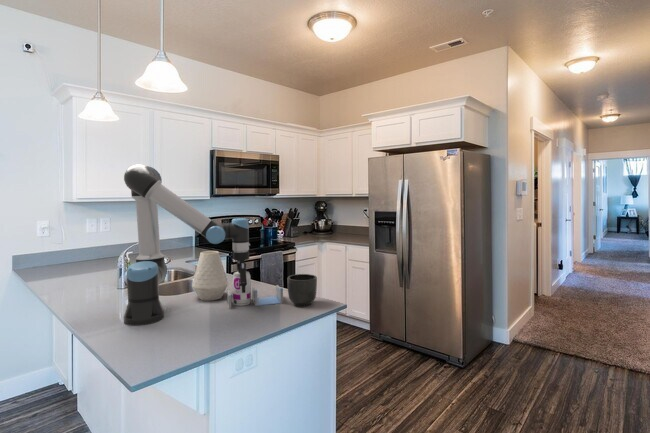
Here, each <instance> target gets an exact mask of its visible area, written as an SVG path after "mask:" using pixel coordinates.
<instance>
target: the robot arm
mask: <svg viewBox="0 0 650 433" xmlns="http://www.w3.org/2000/svg"><path fill="white" fill-rule="evenodd" d="M123 180H124V181H123V182H124V184H125V185H126V188H128V189H129V190H130V191H131V192H130V193H131V194H130V195H131V198H132V199H133V200H134V201H135V209H136V211H135V212H136V222H137V226H136V227H137V237H138V238H137V239H138V240H137V241H138V256H137V257H135V262H134V263H131V264H130V265H129V266H128V267H127V269H126V276H125V277H126V281H127V282H126V283H127V287H126V288H127V306H126V308H125V312H124V316H123V323H124V324H125V325H127V326H142V325H143V326H144V325H149V324H154V323H156V322H159V321H161V320H163V319H164V318H165V311H164V308H163V306H162V303H161V301H160V292H159V290H160V287H159V286H160V284H162V283H163V281H164V280H165V279H166V277H167V274H168V267H167V264H166V263H165V255H164V254H163V253H162V252H161V244H160V243H161V242H160V227H159V225H160V224H159V210H158V208H159V207H158V206H160V207H161V208H162V209H164V210H165V211H166V212H168V213H170V214H171V215H173V216H174V217H176V219H179V220H180V222H183V223H184V224H186V225H187V226H189V228H191V229H193V230H194V231H195V232H197V233H199V234H200V235H201V236H202V237H204V238H205V239H206V240H207V242H209V243H211V244H212V245H218V244H220V243H222V242H224V240H232V259H233V261H236V270H237V271H236V272H239V273H240V283H241V284H239V286H240V297H241V300H244V299H247V290H246V285H247V280H246V271H247V264H246V262H245V261H248V260H249V259H250V251H249V250H250V246H251V243H250V234H249V233H250V230H249V228H250V227H249V226H250V225H249V220H248V218H243V217H241V218H232V220H231V222H229V223H227V222H226V223H224V222H223V223H219V222H217V223H216V222H215V221H214V220H212V219H211V218H209V217H208V216H206V215H205V214H204V213H202V212H201V211H200V210H198V209H197V208H195V207H194V206H193V205H191V204H190V203H188V202H187V201H185V200H184V199H183V198H181V197H180V196H178V195H177V194H176V193H174V192H173V191H172V190H170V189H169V188H168V187H166V186H165V185H163V184H162V176H161V174H160V173H159V171H158V170H157V169H155V168H154V167H151V166H150V165H149V166H148V165H147V166H146V165H144V164H134V165H131V166H129V167H128V168H127V169H126V170H125V172H124V174H123ZM242 282H244V283H242Z"/></svg>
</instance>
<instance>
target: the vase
mask: <svg viewBox="0 0 650 433" xmlns="http://www.w3.org/2000/svg"><path fill="white" fill-rule="evenodd" d="M228 286H229V281H228V277H227V273H226V271H225V268H224V263H223V261H222V258H221V255H220V251H218V250H208V251H207V250H206V251H205V250H204V251H201V252H200V253H199V258H198V262H197V265H196V270H195V272H194V277H193V281H192V284H191V288H192V289H193V291H194V292H195V294H196V296H197V297H198V299H199V300H200V299H201V301H208V302H209V301H215V300H216V301H217V300H220V299H222V298H223V296H224V293H225V292H226V291H227V288H228Z"/></svg>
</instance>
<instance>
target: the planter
mask: <svg viewBox="0 0 650 433" xmlns="http://www.w3.org/2000/svg"><path fill="white" fill-rule="evenodd" d="M286 280H287V281H286V282H287V295H288V298H289V301H290V302H291V303H293V305H294V306H296V307H308V306H310V305H311V304H312V303H313V302H314V301H315V299H316V297H317V288H318V277H317V276H316V275H315V274H309V273H297V274H291V275H288V277H287V279H286Z"/></svg>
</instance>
